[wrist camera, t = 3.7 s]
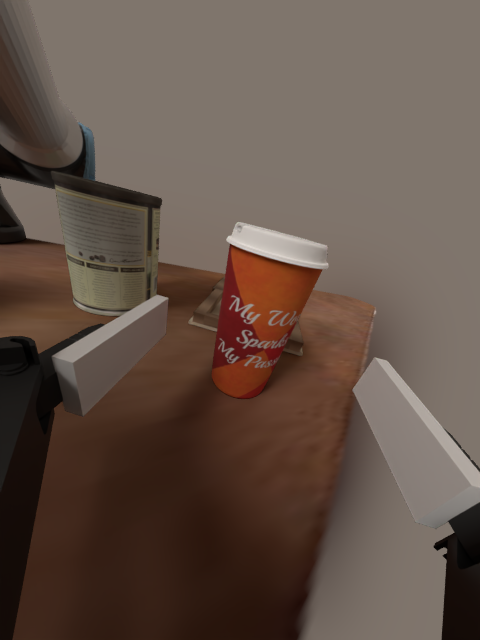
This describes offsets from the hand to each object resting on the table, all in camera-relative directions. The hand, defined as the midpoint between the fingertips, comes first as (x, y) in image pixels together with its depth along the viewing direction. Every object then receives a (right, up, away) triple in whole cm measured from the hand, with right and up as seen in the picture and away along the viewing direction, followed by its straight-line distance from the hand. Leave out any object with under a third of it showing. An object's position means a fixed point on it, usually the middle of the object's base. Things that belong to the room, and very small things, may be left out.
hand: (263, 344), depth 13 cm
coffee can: (-19, +4, +16) cm, 25 cm away
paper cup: (-2, -4, +8) cm, 9 cm away
